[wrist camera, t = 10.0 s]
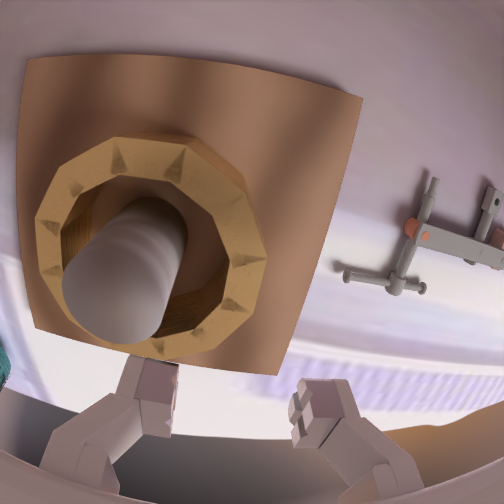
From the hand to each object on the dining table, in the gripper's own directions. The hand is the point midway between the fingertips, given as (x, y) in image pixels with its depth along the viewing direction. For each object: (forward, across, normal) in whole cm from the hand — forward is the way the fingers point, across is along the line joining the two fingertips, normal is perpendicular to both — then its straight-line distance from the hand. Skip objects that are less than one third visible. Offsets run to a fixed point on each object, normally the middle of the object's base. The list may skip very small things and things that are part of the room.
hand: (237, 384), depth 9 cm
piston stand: (+12, +5, 0) cm, 13 cm away
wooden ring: (+10, +5, 0) cm, 11 cm away
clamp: (+12, -15, -3) cm, 20 cm away
